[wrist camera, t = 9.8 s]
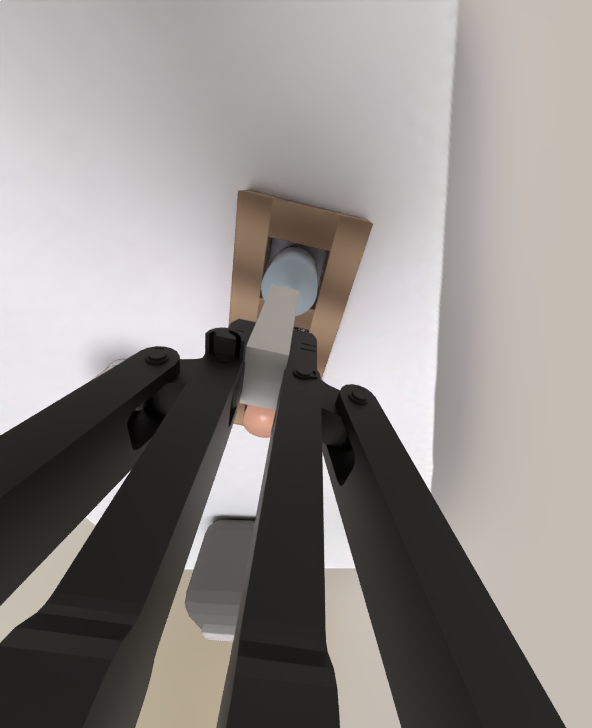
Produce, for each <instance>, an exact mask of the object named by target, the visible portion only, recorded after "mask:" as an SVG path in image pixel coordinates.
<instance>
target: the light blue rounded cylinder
mask: <svg viewBox="0 0 592 728" xmlns="http://www.w3.org/2000/svg"><path fill="white" fill-rule="evenodd" d="M272 285H277V286H281V287H286V288H290V289H295V290H299V295H298V301H297V307H296V314H295V316H298V315H301V314H303V313H305V312H306V311H308V310H309V309H310V308H311V307H312V305H313V304H314V302H315V299H316V296H317V265H316V262H315V260H314V258H313V257H312V255H311V254H310V253H309V252H307V251H306V250H304V249H302V248H299V247H289V248H286V249H283V250H282V251H280V252H279V253H278V254H277V255H276V257H275V258H274V260H273V261H272V263H271V265H270V267H269V268H268V270H267V272H266V273H265V275H264V277H263V280H262V284H261V292H262V296H263V299H264V301H266V298H267V296H268V294H269V291H270V289H271V286H272Z"/></svg>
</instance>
